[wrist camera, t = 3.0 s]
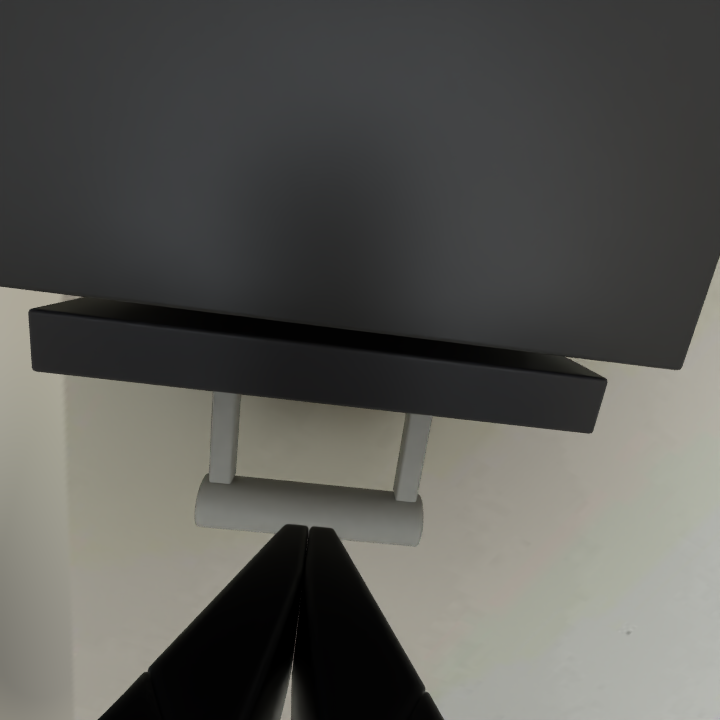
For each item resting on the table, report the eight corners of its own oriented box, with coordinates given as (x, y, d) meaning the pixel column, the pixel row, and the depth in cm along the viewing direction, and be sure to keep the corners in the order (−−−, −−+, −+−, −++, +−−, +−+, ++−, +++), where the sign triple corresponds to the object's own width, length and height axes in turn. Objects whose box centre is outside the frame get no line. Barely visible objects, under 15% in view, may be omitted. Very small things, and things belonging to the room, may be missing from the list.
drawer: (457, 469, 17) (536, 629, 10) (174, 439, 16) (44, 589, 9) (600, -204, 12) (978, -863, 5) (190, -291, 11) (-77, -1210, 4)
